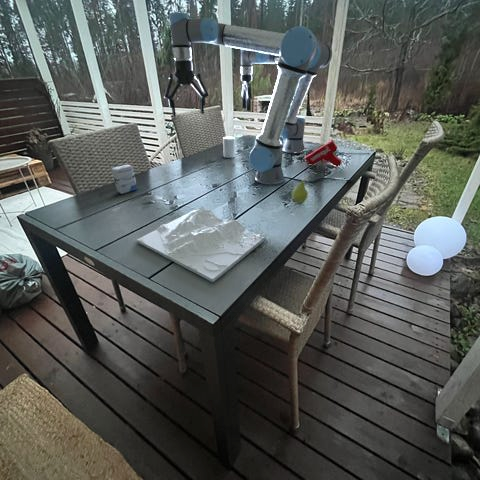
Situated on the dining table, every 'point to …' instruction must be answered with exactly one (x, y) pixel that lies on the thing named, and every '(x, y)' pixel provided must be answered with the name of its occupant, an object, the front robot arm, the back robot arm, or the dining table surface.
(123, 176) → the ink box
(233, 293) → the dining table surface
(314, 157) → the toy gun
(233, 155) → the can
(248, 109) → the back robot arm
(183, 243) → the relief map
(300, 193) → the fruit
